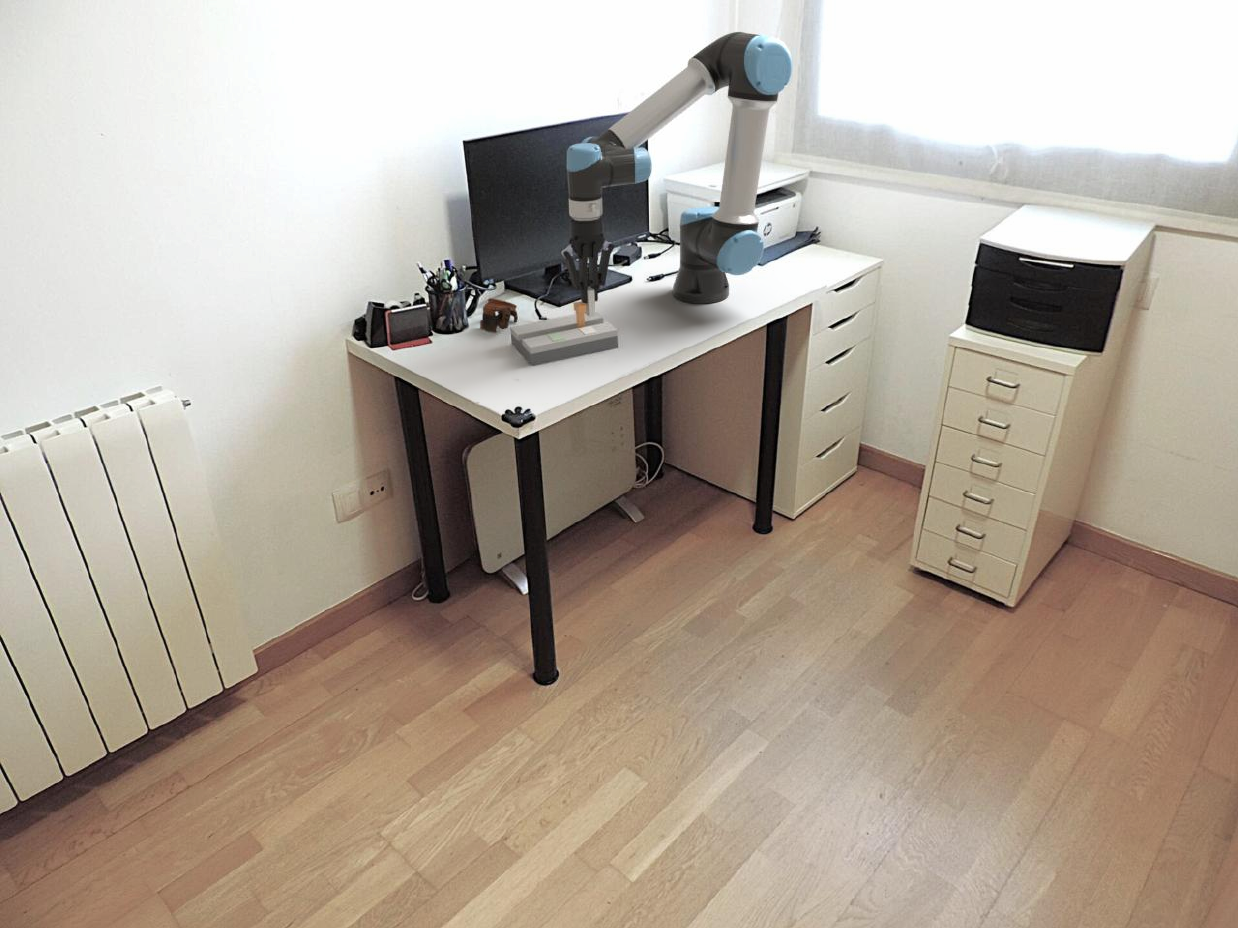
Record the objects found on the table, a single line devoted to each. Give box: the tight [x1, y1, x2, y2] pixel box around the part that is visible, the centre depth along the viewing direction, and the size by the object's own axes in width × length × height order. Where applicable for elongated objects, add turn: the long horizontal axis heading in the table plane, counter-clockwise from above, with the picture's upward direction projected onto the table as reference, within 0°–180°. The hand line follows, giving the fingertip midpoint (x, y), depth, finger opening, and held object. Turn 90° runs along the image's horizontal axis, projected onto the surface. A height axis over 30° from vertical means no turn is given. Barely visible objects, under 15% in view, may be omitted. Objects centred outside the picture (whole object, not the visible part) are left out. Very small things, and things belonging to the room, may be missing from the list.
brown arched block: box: [479, 297, 519, 334], centre depth 225 cm, size 12×10×8 cm
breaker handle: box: [573, 300, 586, 328], centre depth 213 cm, size 2×3×7 cm, turn 25°
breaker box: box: [509, 311, 619, 367], centre depth 214 cm, size 22×14×5 cm, turn 115°
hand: (590, 314), depth 214 cm, fingers closed
